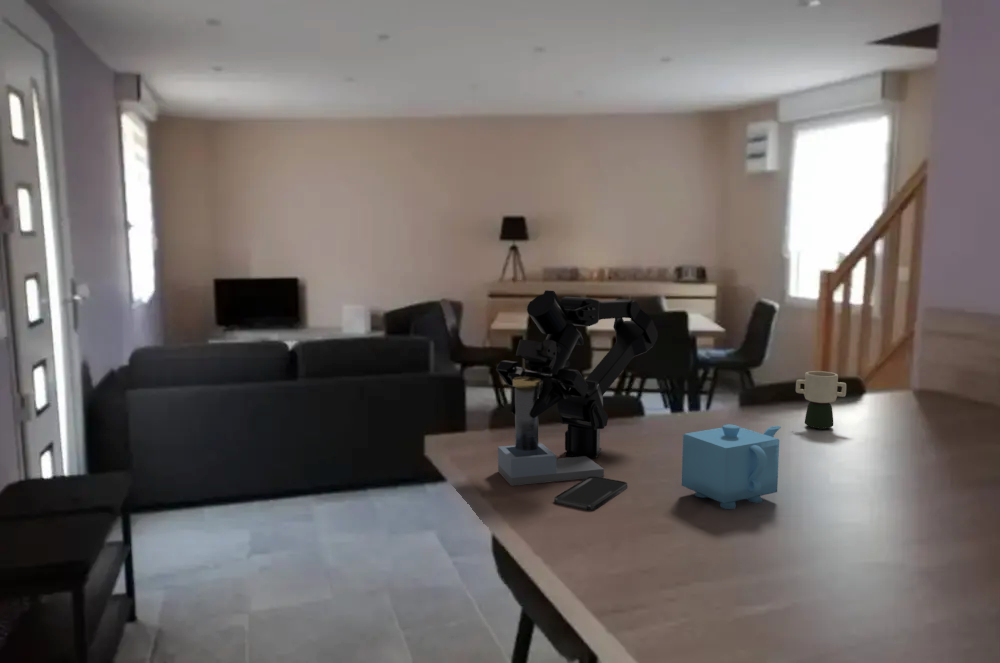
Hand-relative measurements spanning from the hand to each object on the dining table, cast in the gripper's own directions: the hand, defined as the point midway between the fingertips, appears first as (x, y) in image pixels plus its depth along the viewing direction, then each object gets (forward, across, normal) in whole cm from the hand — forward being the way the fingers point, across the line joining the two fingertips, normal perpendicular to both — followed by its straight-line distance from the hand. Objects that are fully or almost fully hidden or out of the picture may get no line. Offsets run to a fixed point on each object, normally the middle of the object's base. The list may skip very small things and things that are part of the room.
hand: (522, 414), depth 144 cm
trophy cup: (-42, +31, +61) cm, 81 cm away
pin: (+4, 0, +6) cm, 7 cm away
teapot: (-3, +36, +21) cm, 42 cm away
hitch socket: (+5, +3, +12) cm, 14 cm away
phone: (+9, +15, +10) cm, 20 cm away
